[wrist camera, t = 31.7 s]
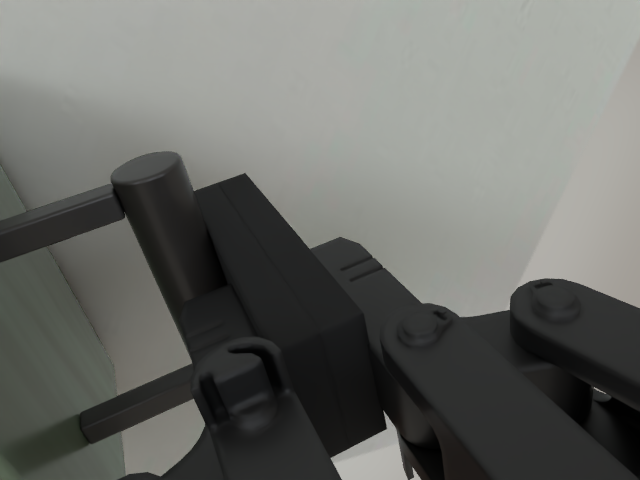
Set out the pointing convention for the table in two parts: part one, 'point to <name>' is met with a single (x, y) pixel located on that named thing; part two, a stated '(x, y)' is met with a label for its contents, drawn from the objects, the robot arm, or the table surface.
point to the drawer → (75, 329)
